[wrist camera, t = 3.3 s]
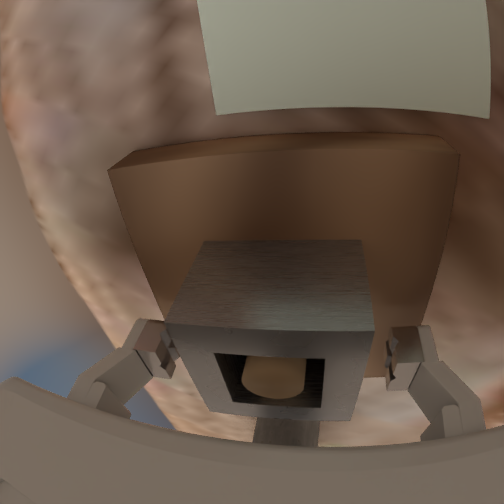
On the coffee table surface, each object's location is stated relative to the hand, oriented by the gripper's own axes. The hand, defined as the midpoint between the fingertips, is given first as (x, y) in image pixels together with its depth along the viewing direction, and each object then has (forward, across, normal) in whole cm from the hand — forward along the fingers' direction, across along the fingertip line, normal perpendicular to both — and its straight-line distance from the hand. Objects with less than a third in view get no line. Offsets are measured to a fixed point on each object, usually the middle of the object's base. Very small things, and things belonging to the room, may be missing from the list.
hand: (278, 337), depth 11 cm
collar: (+2, 0, 0) cm, 2 cm away
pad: (+4, -3, -12) cm, 13 cm away
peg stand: (+4, 0, 0) cm, 4 cm away
